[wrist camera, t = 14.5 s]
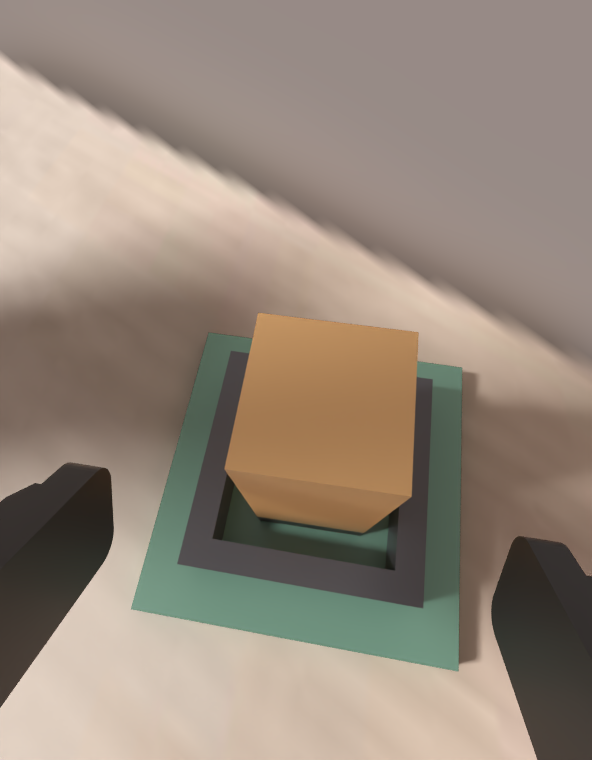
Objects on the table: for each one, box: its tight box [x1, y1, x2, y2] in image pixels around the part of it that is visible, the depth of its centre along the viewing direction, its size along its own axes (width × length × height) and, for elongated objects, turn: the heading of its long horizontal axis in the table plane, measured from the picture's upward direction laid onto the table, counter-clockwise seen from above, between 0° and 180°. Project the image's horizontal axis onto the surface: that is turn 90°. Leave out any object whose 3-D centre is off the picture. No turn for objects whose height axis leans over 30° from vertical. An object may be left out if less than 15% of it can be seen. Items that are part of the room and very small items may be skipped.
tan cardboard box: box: [225, 313, 418, 536], centre depth 14 cm, size 4×4×9 cm
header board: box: [131, 333, 462, 671], centre depth 18 cm, size 12×12×3 cm
